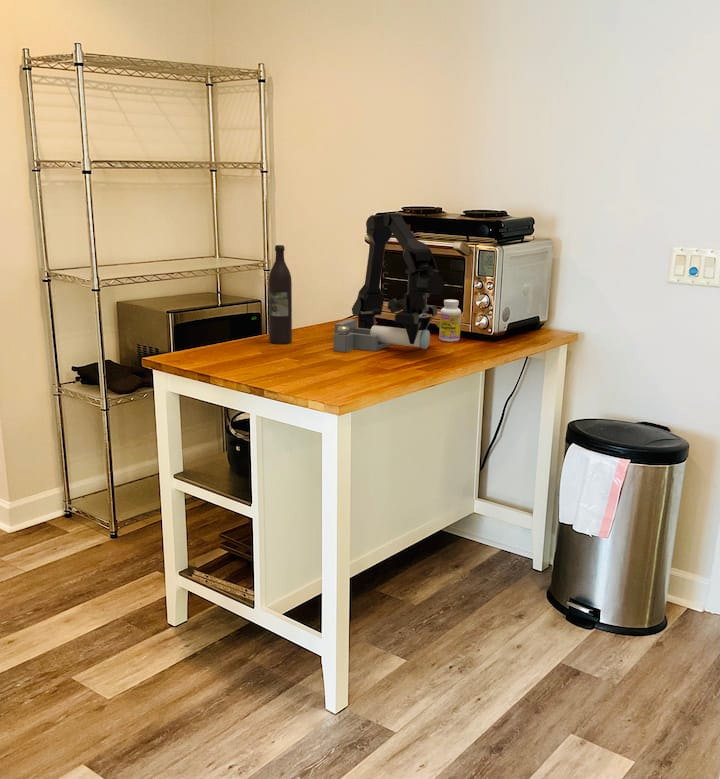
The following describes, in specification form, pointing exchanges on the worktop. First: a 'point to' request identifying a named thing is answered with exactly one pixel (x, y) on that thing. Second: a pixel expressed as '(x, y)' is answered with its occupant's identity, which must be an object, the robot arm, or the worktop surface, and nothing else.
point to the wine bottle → (280, 300)
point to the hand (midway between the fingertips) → (415, 342)
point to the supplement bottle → (450, 321)
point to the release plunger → (343, 330)
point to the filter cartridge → (400, 336)
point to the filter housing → (356, 338)
